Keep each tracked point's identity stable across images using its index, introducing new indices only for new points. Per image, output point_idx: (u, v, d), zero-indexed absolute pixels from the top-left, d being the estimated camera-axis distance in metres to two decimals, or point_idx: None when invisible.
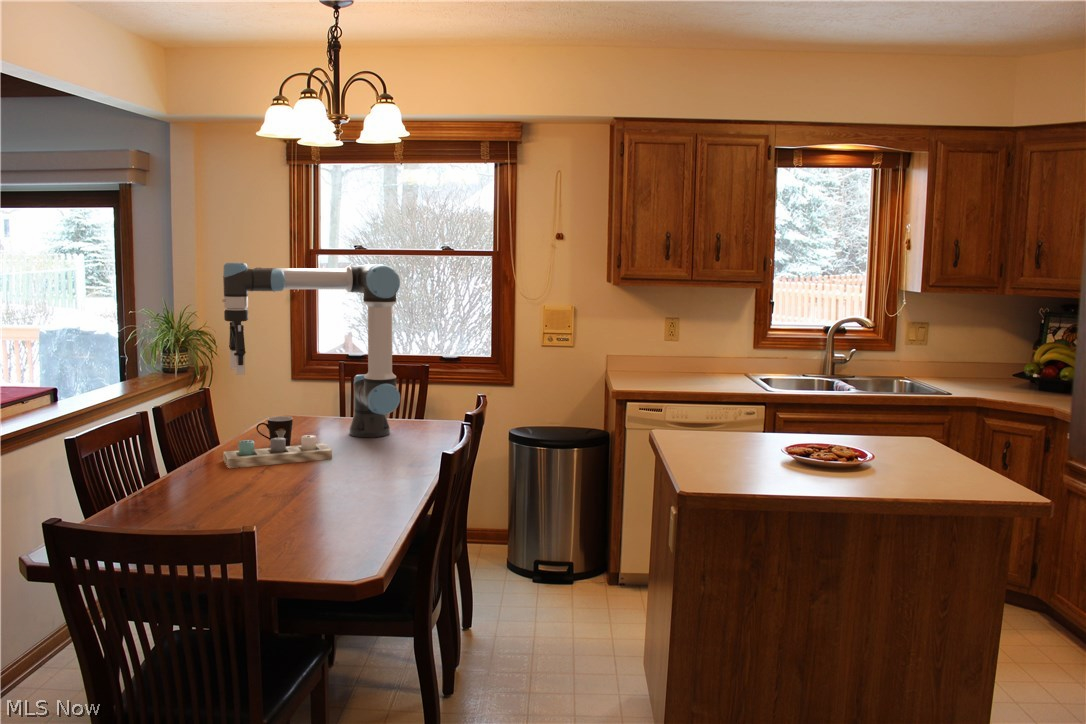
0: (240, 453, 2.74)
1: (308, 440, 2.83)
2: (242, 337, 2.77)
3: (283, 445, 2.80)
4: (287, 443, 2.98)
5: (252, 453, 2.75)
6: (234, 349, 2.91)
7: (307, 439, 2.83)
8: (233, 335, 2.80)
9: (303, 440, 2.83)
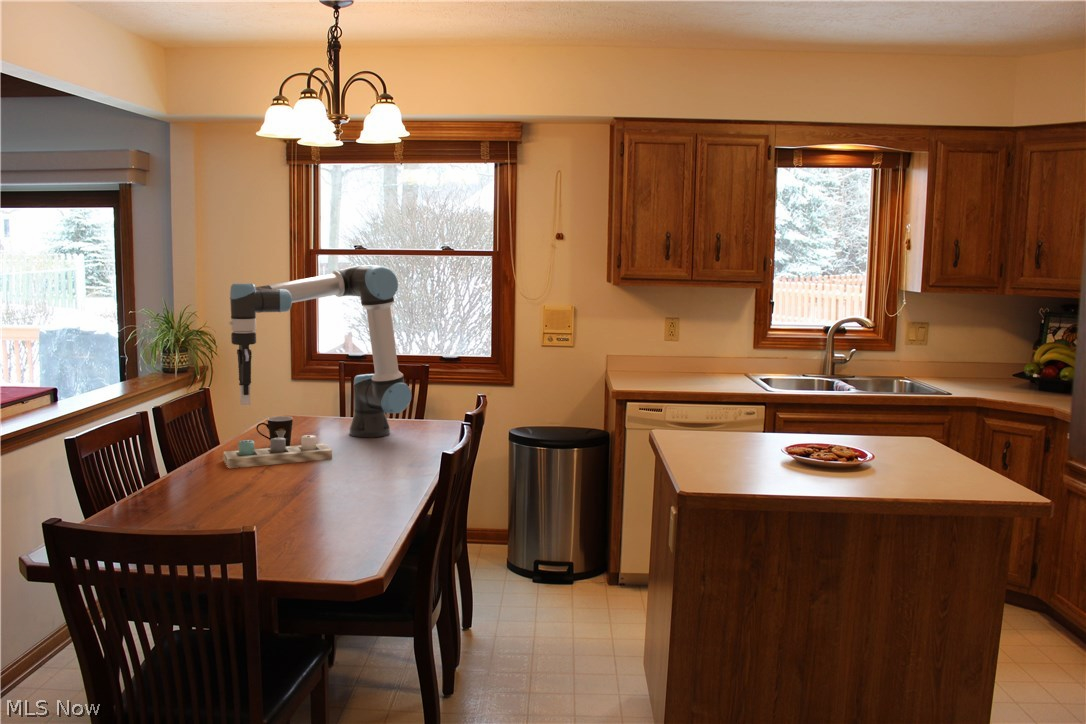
0: (240, 453, 2.74)
1: (308, 440, 2.83)
2: (249, 367, 2.68)
3: (283, 445, 2.80)
4: (287, 443, 2.98)
5: (252, 453, 2.75)
6: None
7: (307, 439, 2.83)
8: (240, 362, 2.70)
9: (303, 440, 2.83)
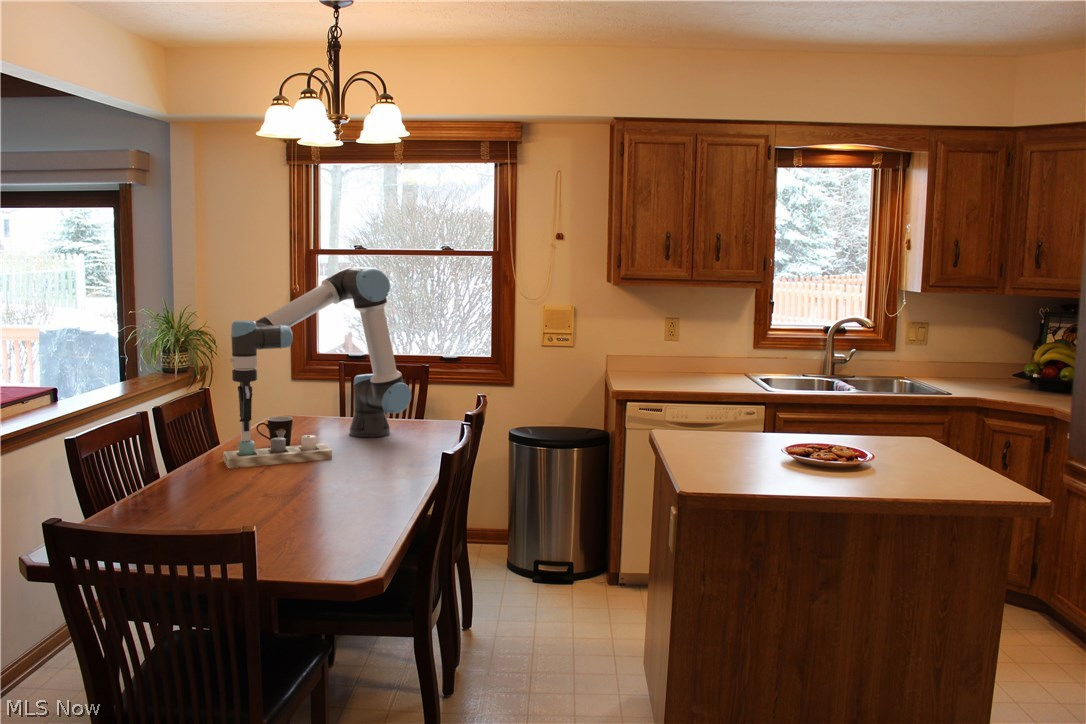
0: (240, 453, 2.74)
1: (308, 440, 2.83)
2: (249, 405, 2.70)
3: (283, 445, 2.80)
4: (287, 443, 2.98)
5: (252, 453, 2.75)
6: None
7: (307, 439, 2.83)
8: (241, 399, 2.71)
9: (303, 440, 2.83)
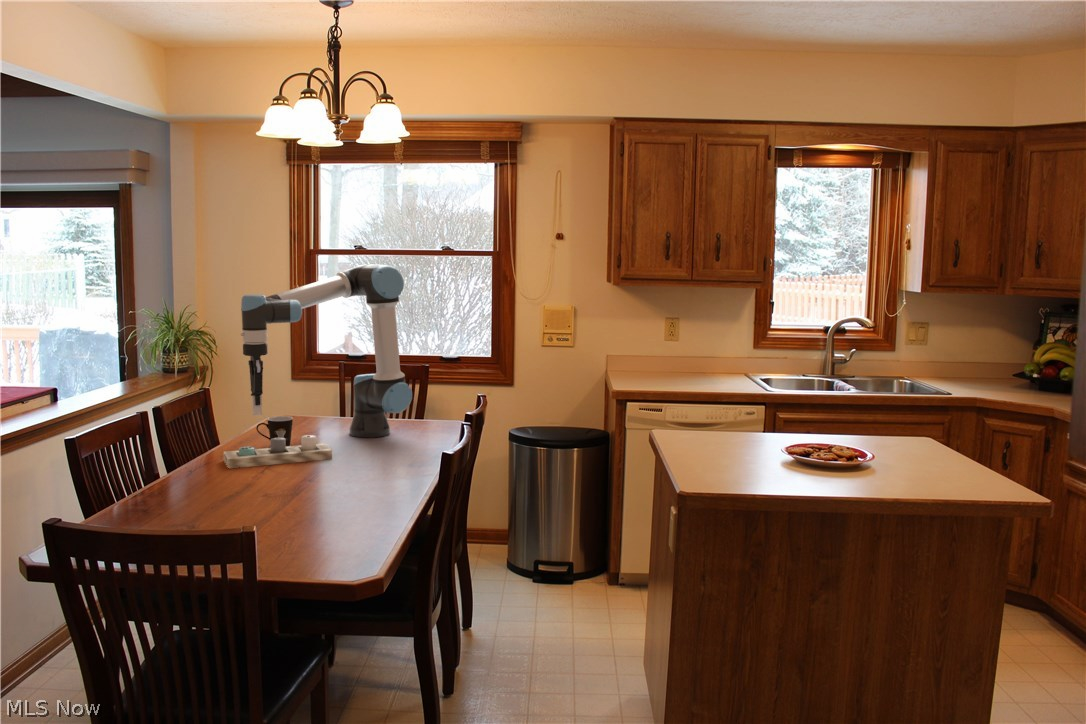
0: None
1: (308, 440, 2.83)
2: (260, 378, 2.71)
3: (283, 445, 2.80)
4: (287, 443, 2.98)
5: None
6: None
7: (307, 439, 2.83)
8: (252, 373, 2.72)
9: (303, 440, 2.83)
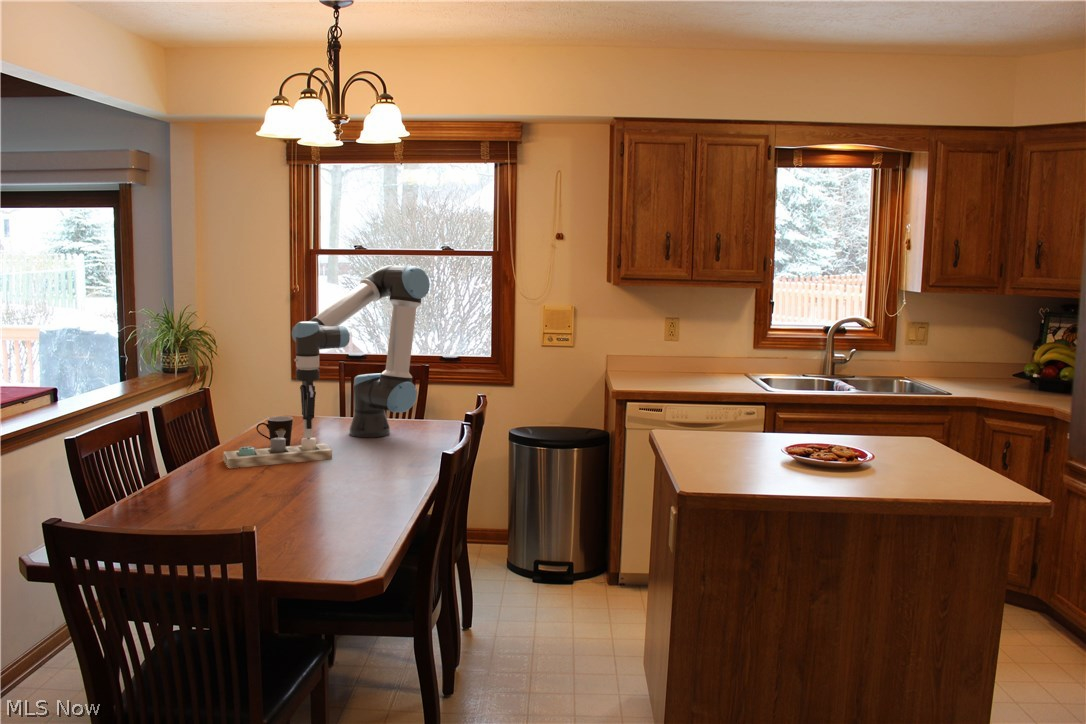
0: None
1: (308, 442, 2.83)
2: (313, 403, 2.79)
3: (283, 445, 2.80)
4: (287, 443, 2.98)
5: None
6: None
7: (307, 441, 2.83)
8: (304, 397, 2.81)
9: (303, 442, 2.83)
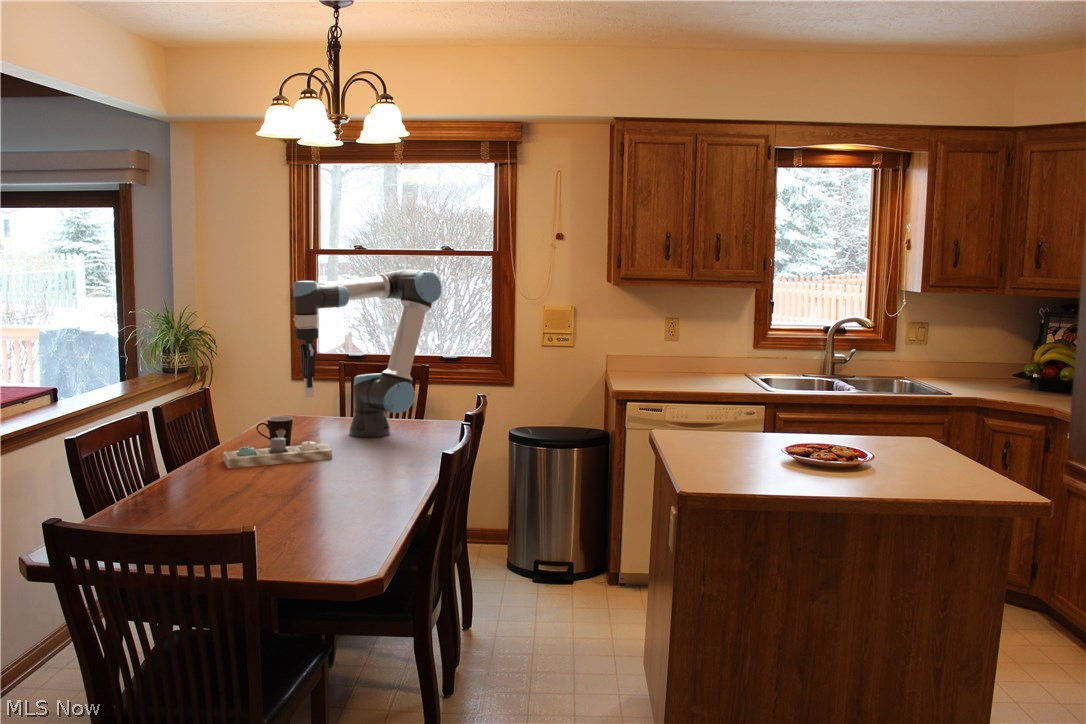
0: None
1: (308, 446, 2.83)
2: (313, 361, 2.81)
3: (283, 445, 2.80)
4: (287, 443, 2.98)
5: None
6: None
7: (307, 445, 2.83)
8: (304, 356, 2.82)
9: (303, 446, 2.83)
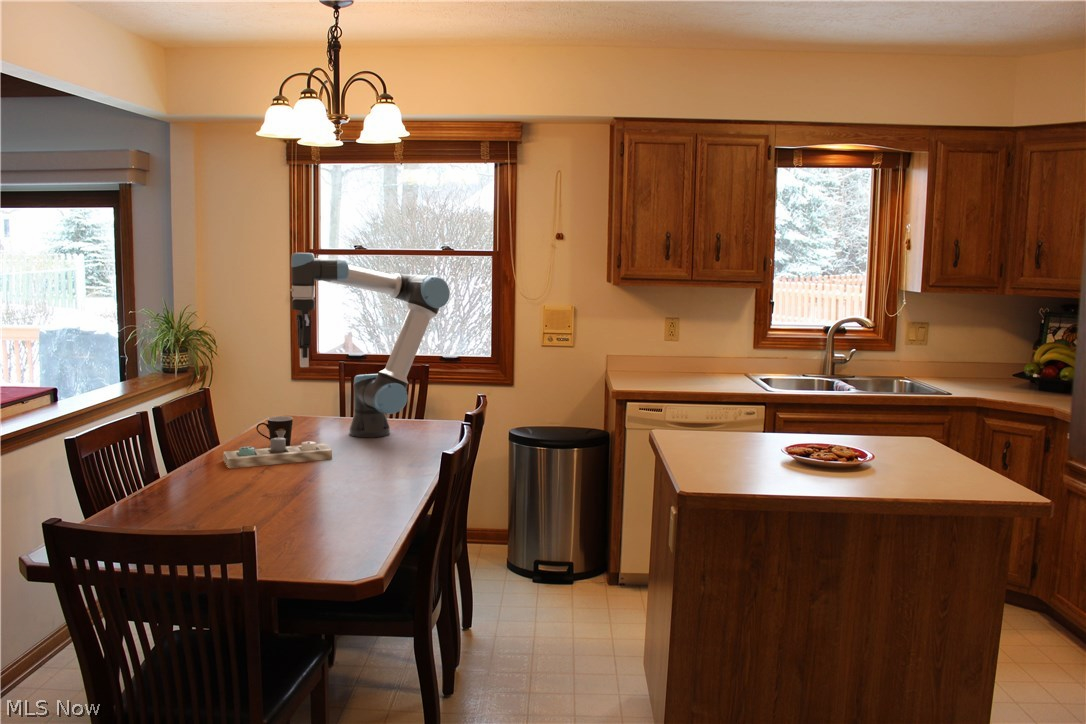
0: None
1: (308, 446, 2.83)
2: (309, 332, 2.86)
3: (283, 445, 2.80)
4: (287, 443, 2.98)
5: None
6: None
7: (307, 445, 2.83)
8: (300, 326, 2.87)
9: (303, 446, 2.83)
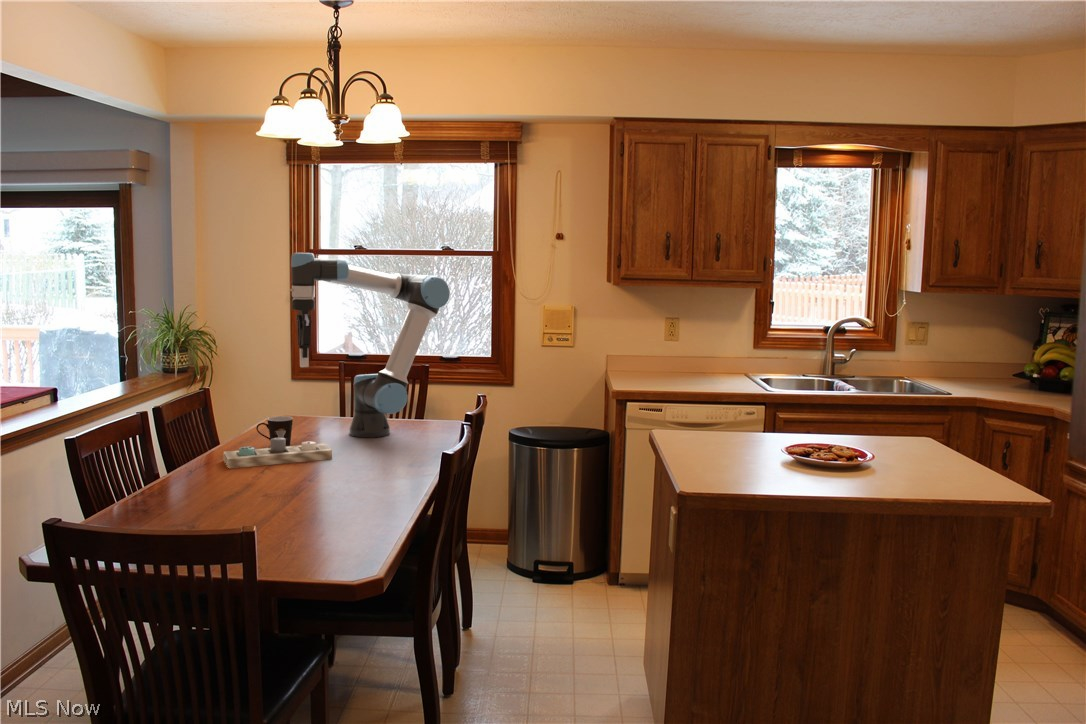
0: None
1: (308, 446, 2.83)
2: (309, 332, 2.86)
3: (283, 445, 2.80)
4: (287, 443, 2.98)
5: None
6: None
7: (307, 445, 2.83)
8: (300, 326, 2.87)
9: (303, 446, 2.83)
